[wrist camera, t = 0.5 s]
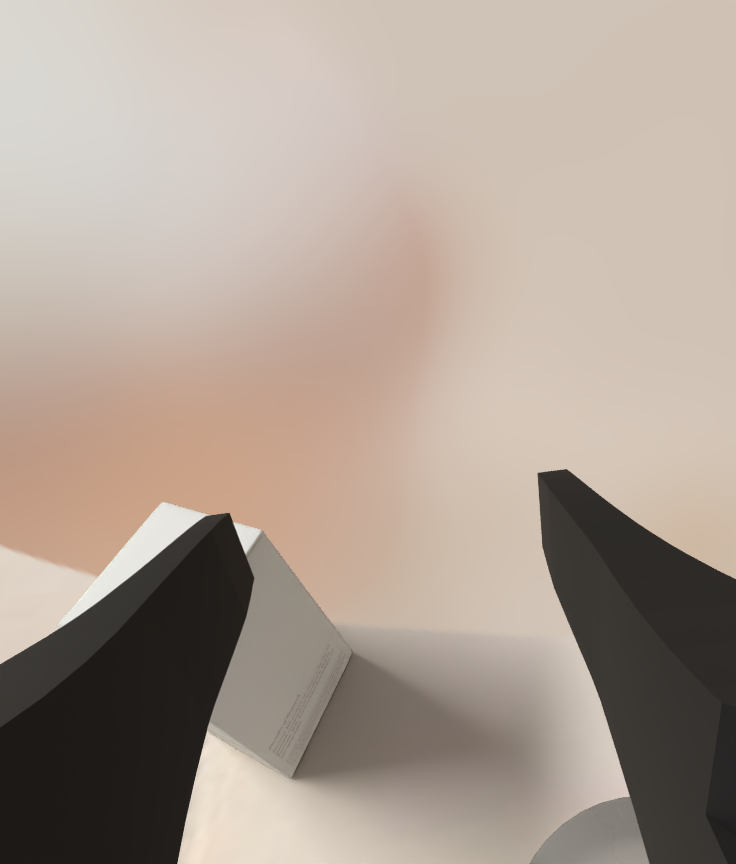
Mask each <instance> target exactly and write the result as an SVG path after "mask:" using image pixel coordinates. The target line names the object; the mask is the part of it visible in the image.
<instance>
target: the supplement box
mask: <svg viewBox="0 0 736 864" xmlns="http://www.w3.org/2000/svg"><path fill="white" fill-rule="evenodd" d="M205 516H209V515H208V514H205V513H201V512H198V511H194V510H190V509H187V508H184V507H180V506H176V505H173V504H169V503H166V502H162V503H161V504H160V505H159V506H158V507H157V509H156V510H155V511H154V512H153V513H152V514H151V515H150V517H149V518H148V519H147V520H146V521H145V523H144V524H143V525H142V526H141V527H140V529H139V530H138V531H137V532H136V533H135V534H134V536H133V537H132V538H131V539H130V540H129V542H127V544H126V545H125V546H124V547H123V548H122V549H121V551H120V552H119V553H118V554H117V555H116V557H115V558H114V559H113V560H112V562H111V563H110V564H109V565H108V566H107V567H106V569H105V570H104V571H103V572H102V573H101V575H100V576H99V577H98V578H97V579H96V581H95V582H94V583H93V584H92V585H91V587H90V588H89V589H88V590H87V591H86V593H85V594H84V595H83V596H82V597H81V599H80V600H79V601H78V602H77V603H76V604H75V605H74V607H73V608H72V609H71V610H70V611H69V612H68V613H67V615H66V616H65V617H64V618H63V619H62V620H61V621H60V622H59V624H58V627H59V629H60V628H61V627H62V626H64V625H65V624H67V623H68V622H70V621H71V620H73V619H74V618H76V617H77V616H79V615H80V614H82V613H83V612H85V611H86V610H87V609H89V608H90V607H92V606H93V605H94V604H96V603H97V602H98V601H100V600H101V599H102V598H104V597H105V596H106V595H108V594H109V593H110V592H111V591H113V590H114V589H115V588H117V587H118V586H119V585H120V584H122V583H123V582H124V581H126V580H127V579H128V578H129V577H131V576H132V575H133V574H134V573H136V572H137V571H138V570H139V569H141V568H142V567H143V566H144V565H145V564H147V563H148V562H149V561H150V560H151V559H153V558H154V557H155V556H156V555H157V554H159V553H160V552H161V551H162V550H163V549H165V548H166V547H167V546H168V545H169V544H171V543H172V542H173V541H174V540H175V539H177V538H178V537H179V536H180V535H181V534H183V533H184V532H185V531H186V530H188V529H189V528H190V527H191V526H193V525H194V524H195V523H197V522H198V521H199V520H201V519H202V518H204V517H205ZM233 524H234V526H235V529H236V531H237V534H238V537H239V539H240V542H241V544H242V547H243V550H244V552H245V555H246V557H247V560H248V563H249V565H250V568H251V570H252V573H253V575H254V583H253V588H252V594H251V599H250V603H249V608H248V612H247V617H246V620H245V623H244V625H243V628H242V631H241V634H240V637H239V640H238V643H237V645H236V648H235V651H234V654H233V656H232V659H231V662H230V665H229V667H228V670H227V673H226V676H225V678H224V681H223V684H222V687H221V689H220V692H219V695H218V698H217V700H216V703H215V706H214V709H213V712H212V715H211V718H210V722H209V725H208V728H207V731H209V732H210V733H212V734H213V735H215V736H216V737H218V738H219V739H221V740H222V741H224V742H226V743H227V744H229V745H230V746H232V747H234V748H236V749H237V750H239V751H241V752H243V753H244V754H246V755H248V756H250V757H251V758H253V759H255V760H257V761H258V762H260V763H262V764H264V765H266V766H267V767H269V768H271V769H273V770H275V771H276V772H278V773H280V774H282V775H284V776H285V777H287V778H289V779H290V778H291V777H292V776H293V773H294V772H295V770H296V768H297V766H298V764H299V762H300V760H301V758H302V756H303V754H304V752H305V749H306V747H307V746H308V743H309V741H310V739H311V737H312V735H313V733H314V731H315V729H316V727H317V725H318V723H319V721H320V719H321V717H322V715H323V713H324V711H325V709H326V707H327V705H328V703H329V701H330V699H331V697H332V694H333V692H334V690H335V688H336V686H337V684H338V682H339V680H340V678H341V676H342V674H343V672H344V670H345V668H346V666H347V663H348V661H349V659H350V656H351V654H352V650H351V649H350V647H349V646H348V645H347V643H346V642H345V641H344V639H343V638H342V636H341V635H340V634H339V632H338V631H337V630H336V628H335V627H334V626H333V624H332V623H331V622H330V620H329V619H328V618H327V616H326V615H325V614H324V612H323V611H322V610H321V608H320V607H319V606H318V604H317V603H316V602H315V600H314V599H313V598H312V596H311V595H310V594H309V592H308V591H307V590H306V589H305V587H304V586H303V584H302V583H301V582H300V580H299V579H298V578H297V576H296V575H295V574H294V572H293V571H292V570H291V569H290V567H289V566H288V565H287V563H286V562H285V561H284V559H283V558H282V556H281V555H280V553H279V552H278V551H277V549H276V548H275V547H274V545H273V544H272V543H271V541H270V540H269V539H268V538H267V536H266V535H265V533H264V531H263V530H260V529H257V528H253V527H250V526H246V525H243V524H240V523H236V522H233Z"/></svg>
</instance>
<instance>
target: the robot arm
mask: <svg viewBox="0 0 736 864" xmlns="http://www.w3.org/2000/svg"><path fill="white" fill-rule="evenodd" d="M538 485H539V500H540V515H541V531H542V545H543V550H544V554H545V557H546V561H547V565H548V568H549V572H550V575H551V578H552V582H553V585H554V588H555V591H556V593H557V596H558V598H559V601H560V603H561V605H562V608H563V610H564V612H565V615H566V617H567V620H568V622H569V625H570V627H571V629H572V632H573V634H574V636H575V639H576V641H577V643H578V646H579V648H580V651H581V653H582V655H583V658H584V660H585V662H586V665H587V667H588V670H589V672H590V674H591V677H592V679H593V682H594V684H595V687H596V690H597V692H598V695H599V698H600V700H601V703H602V707H603V710H604V713H605V716H606V719H607V723H608V726H609V729H610V732H611V735H612V739H613V742H614V745H615V748H616V751H617V755H618V758H619V761H620V765H621V768H622V771H623V775H624V778H625V781H626V785H627V788H628V791H629V795H630V798H631V801H632V805H633V808H634V812H635V815H636V818H637V822H638V825H639V829H640V832H641V836H642V839H643V843H644V846H645V850H646V853H647V857H648V860H649V864H736V579H734V578H732V577H730V576H728V575H726V574H724V573H722V572H720V571H717V570H716V569H714V568H712V567H710V566H708V565H707V564H705V563H703V562H701V561H699V560H697V559H695V558H693V557H692V556H690V555H688V554H686V553H684V552H683V551H681V550H679V549H677V548H676V547H674V546H672V545H670V544H669V543H667V542H666V541H664V540H662V539H661V538H659V537H658V536H656V535H655V534H653V533H651V532H650V531H648V530H647V529H645V528H644V527H642V526H641V525H639V524H638V523H636V522H635V521H633V520H632V519H631V518H629V517H628V516H627V515H625V514H624V513H622V512H621V511H620V510H618V509H617V508H615V507H614V506H613V505H611V504H610V503H609V502H608V501H606V500H605V499H604V498H602V497H601V496H599V494H597V493H596V492H595V491H593V490H592V489H591V488H590V487H588V486H587V485H586V484H585V483H583V482H582V481H581V480H580V479H578V478H577V477H576V476H575V475H573V474H572V473H571V472H569V471H568V470H567V469H565V470H557V471H549V472H542V473H538ZM253 583H254V575H253V573H252V570H251V568H250V565H249V563H248V560H247V557H246V555H245V552H244V550H243V547H242V544H241V542H240V539H239V537H238V534H237V531H236V529H235V526H234V524H233V521H232V518H231V516H230V513H225V514H218V515H209V516H205V517H204V518H202V519H201V520H199V521H198V522H197V523H195V524H194V525H193V526H191V527H190V528H189V529H188V530H186V531H185V532H184V533H183V534H181V535H180V536H179V537H178V538H177V539H175V540H174V541H173V542H172V543H171V544H169V545H168V546H167V547H166V548H165V549H163V550H162V551H161V552H160V553H159V554H157V555H156V556H155V557H154V558H153V559H151V560H150V561H149V562H148V563H147V564H145V565H144V566H143V567H142V568H141V569H139V570H138V571H137V572H136V573H134V574H133V575H132V576H131V577H129V578H128V579H127V580H126V581H124V582H123V583H122V584H120V585H119V586H118V587H117V588H115V589H114V590H113V591H111V592H110V593H109V594H108V595H106V596H105V597H104V598H102V599H101V600H100V601H98V602H97V603H96V604H94V605H93V606H92V607H90V608H89V609H87V610H86V611H85V612H83V613H82V614H80V615H79V616H77V617H76V618H74V619H73V620H71V621H70V622H68V623H67V624H65V625H64V626H62V627H61V628H60V629H58V630H57V631H55V632H53V633H52V634H50V635H49V636H47V637H46V638H44V639H42V640H41V641H39V642H37V643H35V644H34V645H32V646H30V647H29V648H27V649H25V650H24V651H22V652H20V653H19V654H17V655H15V656H14V657H12V658H10V659H8V660H7V661H5V662H3V663H2V664H0V864H177V862H178V857H179V852H180V847H181V841H182V836H183V831H184V826H185V821H186V816H187V812H188V807H189V803H190V799H191V794H192V790H193V785H194V781H195V776H196V772H197V768H198V764H199V760H200V756H201V752H202V748H203V744H204V740H205V736H206V732H207V728H208V725H209V722H210V718H211V715H212V712H213V709H214V706H215V703H216V700H217V698H218V695H219V692H220V689H221V687H222V684H223V681H224V678H225V676H226V673H227V670H228V667H229V665H230V662H231V659H232V656H233V654H234V651H235V648H236V645H237V643H238V640H239V637H240V634H241V631H242V628H243V625H244V623H245V620H246V617H247V612H248V608H249V603H250V599H251V594H252V588H253Z"/></svg>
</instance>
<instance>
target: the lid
mask: <svg viewBox="0 0 736 864" xmlns="http://www.w3.org/2000/svg"><path fill="white" fill-rule="evenodd" d="M530 864H649V860H648V857H647V853H646V850H645V846H644V843H643V839H642V836H641V832H640V829H639V825H638V822H637V818H636V815H635V812H634V808H633V805H632V801H631V798H630V797H623V798H618V799H615V800H611V801H607V802H603V803H600V804H598V805H595V806H593V807H591V808H589V809H587V810H584V811H582V812H580V813H579V814H577V815H576V816H574V817H573V818H571V819H570V820H568V821H567V822H565V823H564V824H563V825H562V826H561V827H560V828H558V829H557V830H556V831H555V832H554V833H553V834H552V835H551V836H550V837H549V838H548V839H547V840H546V841H545V843H544V844H543V845H542V847H541V848H540V849H539V851H538V852H537V853H536V855H535V856H534V857H533V859H532V861H531V862H530Z"/></svg>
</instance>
